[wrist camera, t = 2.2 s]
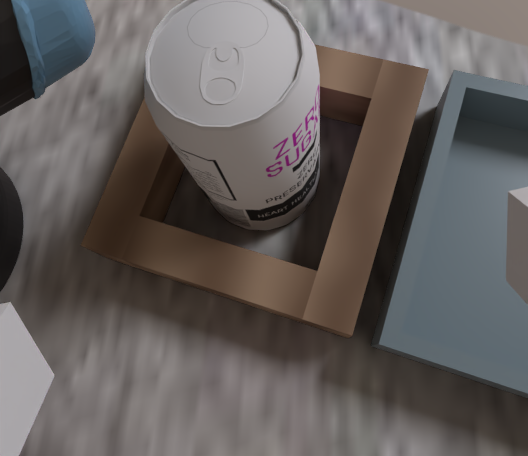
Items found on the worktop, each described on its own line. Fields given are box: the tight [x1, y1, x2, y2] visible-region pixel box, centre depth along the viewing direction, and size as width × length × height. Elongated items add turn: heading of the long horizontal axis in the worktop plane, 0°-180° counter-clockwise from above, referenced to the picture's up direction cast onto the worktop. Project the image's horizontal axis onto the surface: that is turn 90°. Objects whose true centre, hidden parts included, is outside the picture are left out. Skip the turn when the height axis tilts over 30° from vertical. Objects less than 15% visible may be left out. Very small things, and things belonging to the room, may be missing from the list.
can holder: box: [81, 44, 429, 338], centre depth 33 cm, size 18×18×4 cm
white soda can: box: [144, 0, 320, 230], centre depth 28 cm, size 8×8×15 cm
